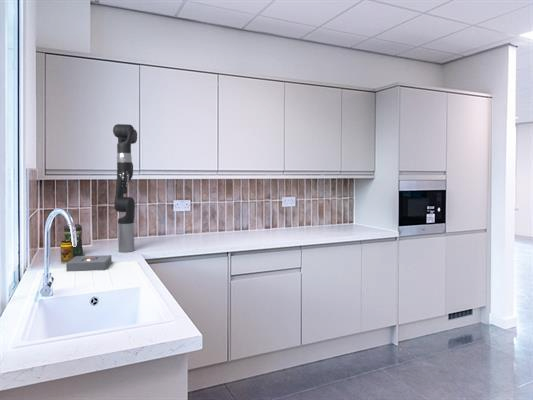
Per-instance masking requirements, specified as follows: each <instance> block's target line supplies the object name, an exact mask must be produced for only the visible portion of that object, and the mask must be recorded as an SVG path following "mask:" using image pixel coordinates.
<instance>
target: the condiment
mask: <svg viewBox="0 0 533 400" xmlns="http://www.w3.org/2000/svg"><path fill="white" fill-rule="evenodd" d="M60 243H61V245H60V259H59V260H58V262H59V264H66V263H67V262H69V261H70V260H71V259H73V246H72V242H71V239H66V240H65V239H61V242H60Z"/></svg>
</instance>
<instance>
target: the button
mask: <svg viewBox="0 0 533 400" xmlns="http://www.w3.org/2000/svg"><path fill="white" fill-rule="evenodd" d="M83 260H84V261H93V260H96V257H86V258H84V259H83Z"/></svg>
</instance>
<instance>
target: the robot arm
mask: <svg viewBox="0 0 533 400" xmlns="http://www.w3.org/2000/svg"><path fill="white" fill-rule="evenodd" d="M112 132H113V133H112V134H113V135H114V137H116V138H117V145H116V148H117V149H116V151H117V153H116V154H117V155H116V188H115V189H116V190H115V194H114V209H115V211H116V212H117V213H118V212H119V213H125V215H124V216H122V217H119V218H118V219H117V237H118V238H117V241H118V243H117V244H118V247H117V248H118V252H120V253H130V251H131V252H134V251H135V210H136V203H135V198H134V197H132V196H125V194H128V186H129V183H130V182H131V180H132V178H133V175H134V163H133V161H132V160H133V158H132V144H133V145H135V144H136V143H137V141H138V132H137V130H136V129H135V127H134V126H133V125H132V124H121V123H117V124H115V125H114V126H113V128H112Z"/></svg>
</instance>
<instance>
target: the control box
mask: <svg viewBox="0 0 533 400" xmlns="http://www.w3.org/2000/svg"><path fill="white" fill-rule="evenodd" d="M86 257H96V260H93V261H84V260H83V259H84V258H86ZM111 262H112V255H111V254H109V255H107V254H106V255H103V254H102V255H101V254H100V255H83V256H75V257H74V258H73V259H71V260H70V261H69V262H67V263H65V266H66V267H65V269H66V272H89V271H106V270H107V269H108V267H109V266H110V265H111V264H112V263H111ZM110 263H111V264H110Z"/></svg>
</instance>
